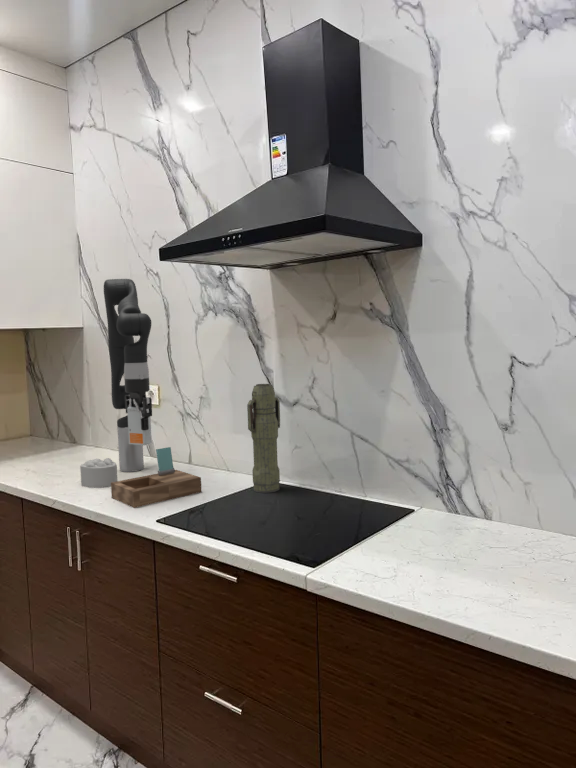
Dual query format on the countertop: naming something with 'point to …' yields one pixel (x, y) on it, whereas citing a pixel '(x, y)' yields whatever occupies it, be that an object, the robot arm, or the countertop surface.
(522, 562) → the countertop surface
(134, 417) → the skincare box
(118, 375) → the robot arm
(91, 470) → the lumpy-topped squat cylinder
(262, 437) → the thermos
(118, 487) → the socket block
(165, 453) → the teal card holder
